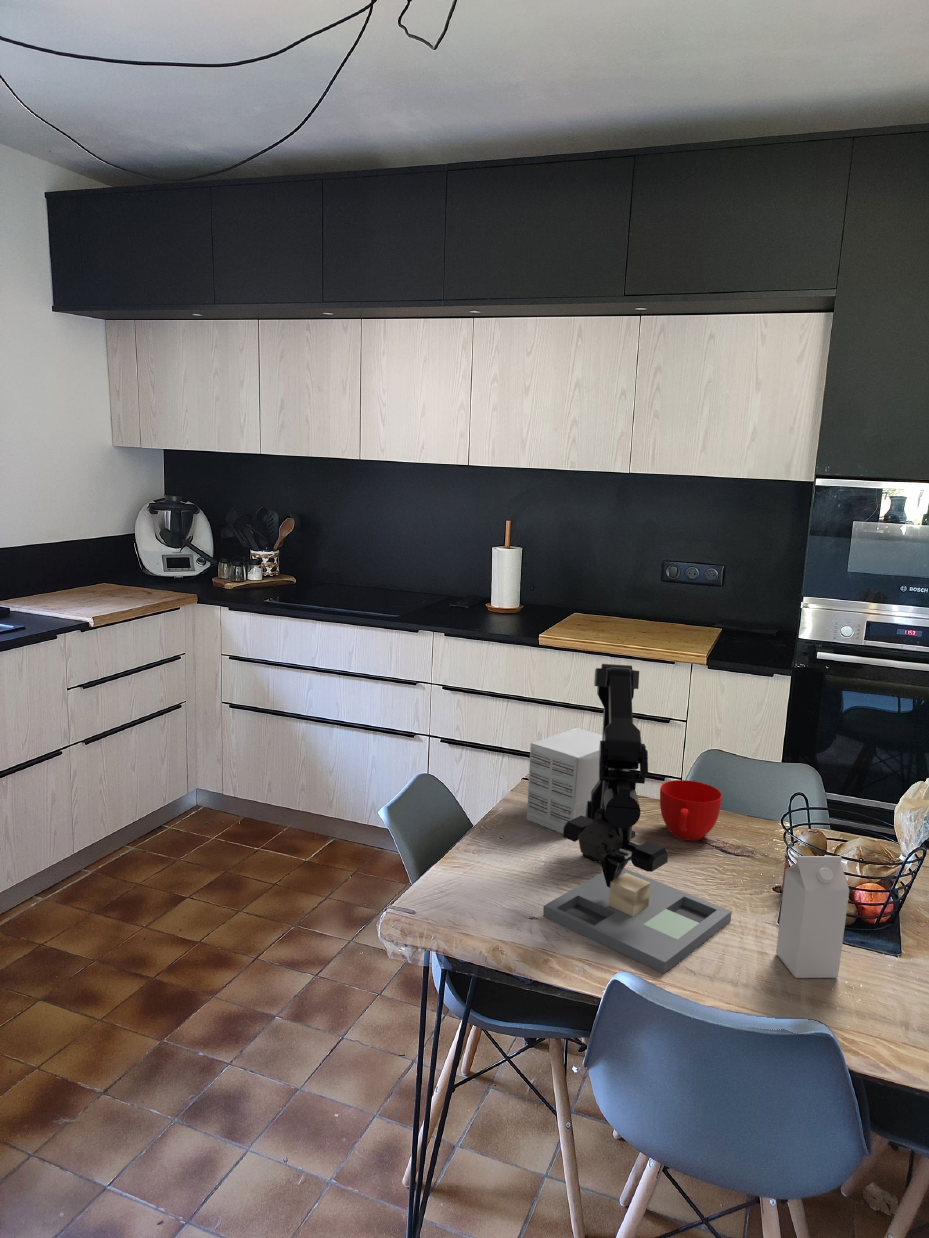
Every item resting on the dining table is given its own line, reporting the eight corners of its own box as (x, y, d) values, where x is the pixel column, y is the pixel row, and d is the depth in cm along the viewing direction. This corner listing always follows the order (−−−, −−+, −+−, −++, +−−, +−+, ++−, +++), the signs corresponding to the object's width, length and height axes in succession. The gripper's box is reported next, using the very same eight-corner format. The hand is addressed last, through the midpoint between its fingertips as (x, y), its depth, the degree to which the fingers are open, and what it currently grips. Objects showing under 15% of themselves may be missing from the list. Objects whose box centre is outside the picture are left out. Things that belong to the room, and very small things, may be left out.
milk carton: (775, 953, 144) (788, 846, 141) (816, 953, 145) (830, 846, 141) (795, 979, 137) (808, 866, 134) (838, 978, 138) (852, 866, 134)
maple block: (624, 895, 157) (626, 872, 157) (648, 906, 154) (650, 882, 153) (608, 905, 154) (610, 881, 153) (633, 916, 150) (635, 892, 150)
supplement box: (570, 799, 207) (575, 726, 203) (617, 816, 198) (623, 740, 194) (524, 819, 194) (528, 741, 191) (572, 838, 185) (577, 757, 182)
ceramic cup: (648, 846, 183) (651, 801, 181) (662, 817, 198) (666, 776, 196) (711, 859, 178) (716, 813, 176) (721, 829, 193) (725, 786, 192)
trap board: (615, 874, 170) (616, 864, 169) (730, 921, 154) (731, 911, 154) (543, 916, 153) (543, 905, 153) (664, 973, 137) (665, 962, 137)
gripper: (547, 800, 154) (541, 882, 156) (638, 834, 141) (630, 923, 144) (584, 785, 162) (577, 863, 164) (673, 816, 149) (665, 900, 152)
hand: (610, 886), depth 156 cm, fingers closed
